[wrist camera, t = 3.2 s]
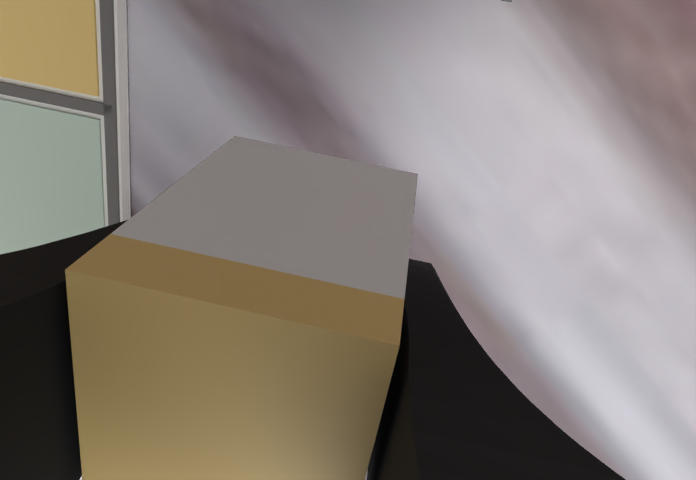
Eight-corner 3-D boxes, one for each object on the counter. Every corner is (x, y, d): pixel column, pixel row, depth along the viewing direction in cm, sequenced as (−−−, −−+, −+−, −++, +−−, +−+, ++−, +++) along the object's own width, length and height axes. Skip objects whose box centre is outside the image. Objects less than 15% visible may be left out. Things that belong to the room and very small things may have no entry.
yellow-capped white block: (381, 327, 13) (343, 562, 8) (223, 291, 14) (84, 496, 8) (417, 173, 12) (399, 345, 6) (234, 135, 12) (65, 269, 6)
